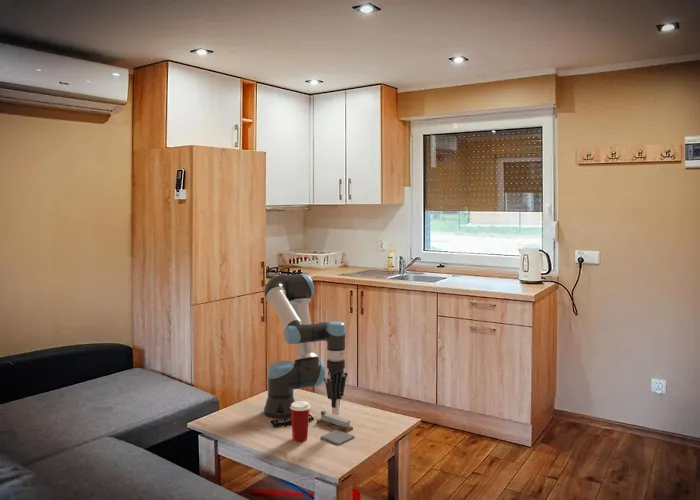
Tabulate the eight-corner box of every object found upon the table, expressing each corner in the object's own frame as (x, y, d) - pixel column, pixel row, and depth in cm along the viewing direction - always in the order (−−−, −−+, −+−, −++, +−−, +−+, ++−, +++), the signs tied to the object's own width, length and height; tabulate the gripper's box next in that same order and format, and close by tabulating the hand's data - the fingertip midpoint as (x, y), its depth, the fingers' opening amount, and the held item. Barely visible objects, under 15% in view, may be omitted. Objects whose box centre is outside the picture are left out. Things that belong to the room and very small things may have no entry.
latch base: (316, 422, 255) (316, 419, 255) (323, 419, 258) (323, 416, 258) (346, 432, 244) (346, 429, 244) (352, 429, 248) (352, 426, 248)
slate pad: (320, 438, 238) (320, 436, 238) (336, 431, 245) (336, 429, 245) (338, 445, 231) (339, 443, 231) (354, 437, 239) (354, 435, 239)
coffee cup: (314, 439, 237) (314, 403, 236) (299, 445, 231) (299, 409, 230) (300, 433, 243) (300, 398, 241) (285, 439, 237) (285, 403, 235)
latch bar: (319, 419, 255) (319, 412, 255) (323, 417, 257) (323, 410, 257) (345, 428, 245) (345, 421, 245) (350, 426, 248) (350, 419, 247)
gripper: (332, 363, 234) (332, 420, 235) (352, 357, 244) (352, 412, 245) (318, 360, 238) (318, 416, 240) (339, 354, 248) (338, 408, 250)
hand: (335, 414), depth 243 cm, fingers closed
